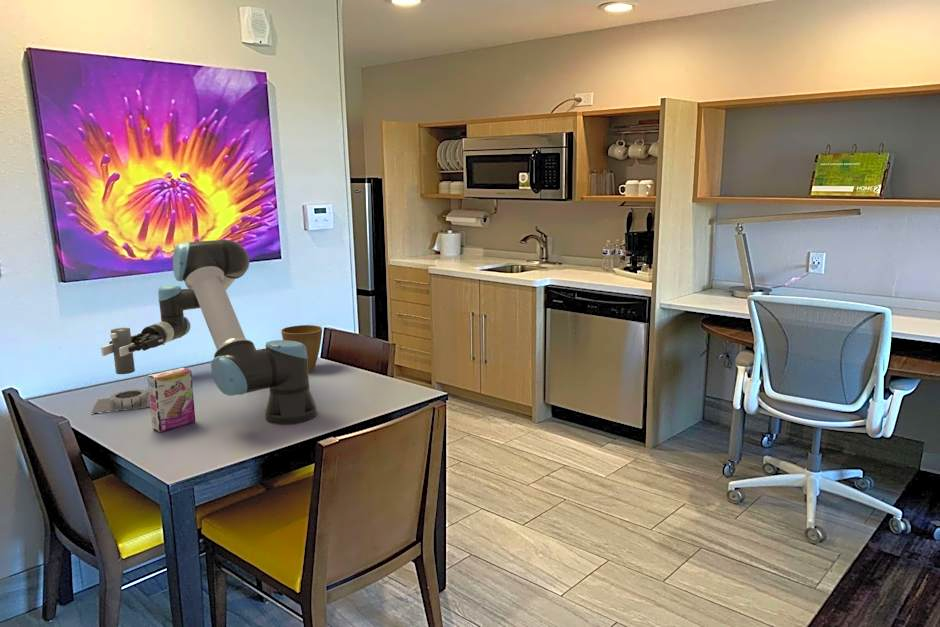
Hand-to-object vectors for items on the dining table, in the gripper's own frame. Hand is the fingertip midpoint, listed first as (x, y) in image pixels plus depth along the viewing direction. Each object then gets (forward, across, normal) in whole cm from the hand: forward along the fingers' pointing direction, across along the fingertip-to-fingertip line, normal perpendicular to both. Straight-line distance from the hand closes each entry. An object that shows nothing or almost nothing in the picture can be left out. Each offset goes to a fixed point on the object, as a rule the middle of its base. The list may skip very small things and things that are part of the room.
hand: (111, 352), depth 213 cm
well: (-5, 0, -19) cm, 19 cm away
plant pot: (-49, -42, -19) cm, 67 cm away
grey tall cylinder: (-5, 0, -8) cm, 10 cm away
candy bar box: (+12, -27, -19) cm, 35 cm away
